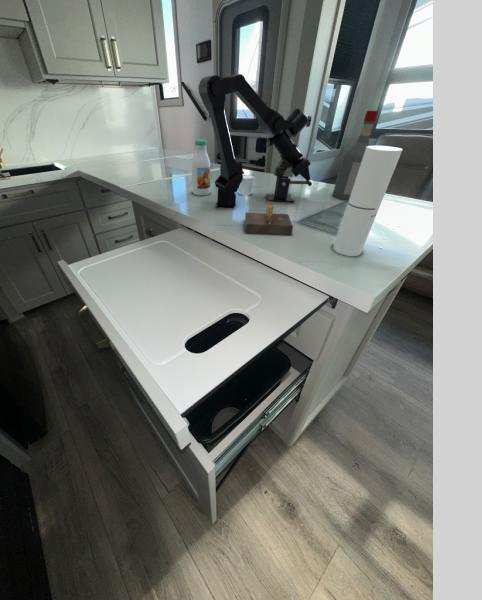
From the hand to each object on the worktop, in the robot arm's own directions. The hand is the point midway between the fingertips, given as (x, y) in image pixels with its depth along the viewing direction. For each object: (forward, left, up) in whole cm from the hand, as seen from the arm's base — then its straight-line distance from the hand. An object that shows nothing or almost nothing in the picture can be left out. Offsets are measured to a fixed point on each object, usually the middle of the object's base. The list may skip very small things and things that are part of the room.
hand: (309, 180), depth 103 cm
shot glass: (-24, +7, -8) cm, 26 cm away
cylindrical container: (+3, -43, -8) cm, 44 cm away
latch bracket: (-10, 0, -8) cm, 13 cm away
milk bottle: (-43, +6, -8) cm, 44 cm away
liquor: (+18, +6, -8) cm, 21 cm away
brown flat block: (-18, -30, -8) cm, 35 cm away
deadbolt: (-18, -30, -5) cm, 35 cm away
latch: (-5, 0, -2) cm, 6 cm away
